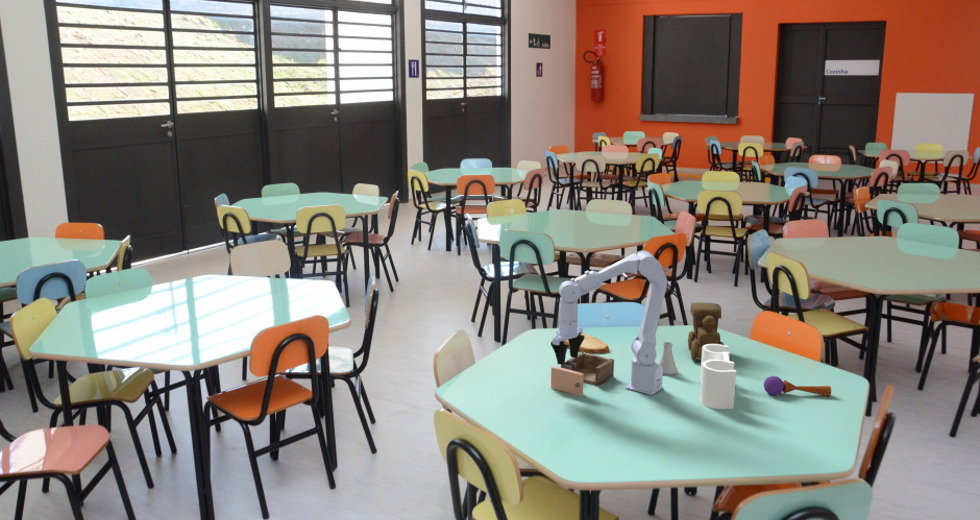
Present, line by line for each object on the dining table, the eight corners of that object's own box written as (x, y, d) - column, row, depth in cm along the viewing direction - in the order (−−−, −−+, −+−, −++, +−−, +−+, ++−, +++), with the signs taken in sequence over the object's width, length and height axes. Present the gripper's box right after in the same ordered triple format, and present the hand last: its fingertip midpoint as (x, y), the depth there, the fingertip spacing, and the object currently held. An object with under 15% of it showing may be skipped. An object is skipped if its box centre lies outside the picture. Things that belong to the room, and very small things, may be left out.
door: (583, 394, 257) (583, 373, 255) (579, 396, 255) (579, 375, 253) (553, 386, 263) (553, 365, 261) (549, 388, 261) (549, 368, 260)
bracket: (697, 377, 270) (699, 342, 267) (727, 379, 268) (730, 344, 265) (700, 407, 246) (702, 370, 244) (734, 410, 244) (736, 372, 242)
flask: (676, 368, 279) (677, 340, 276) (678, 375, 272) (680, 347, 269) (654, 367, 279) (656, 339, 277) (656, 375, 272) (658, 346, 270)
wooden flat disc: (611, 354, 292) (611, 344, 292) (560, 354, 293) (560, 344, 292) (605, 338, 310) (605, 329, 309) (557, 338, 310) (557, 328, 309)
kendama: (834, 388, 251) (768, 381, 252) (829, 404, 253) (764, 397, 255) (828, 378, 256) (764, 371, 258) (824, 394, 259) (760, 387, 260)
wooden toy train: (686, 345, 301) (688, 301, 297) (717, 346, 300) (720, 302, 296) (691, 364, 282) (694, 318, 278) (725, 365, 280) (728, 319, 277)
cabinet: (613, 376, 271) (614, 359, 269) (593, 388, 261) (594, 371, 259) (578, 367, 279) (579, 351, 277) (558, 379, 268) (558, 362, 267)
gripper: (569, 311, 263) (568, 351, 267) (544, 322, 252) (544, 364, 255) (588, 315, 259) (587, 356, 262) (564, 327, 248) (563, 369, 251)
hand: (567, 360), depth 259 cm, fingers open, 7 cm apart
